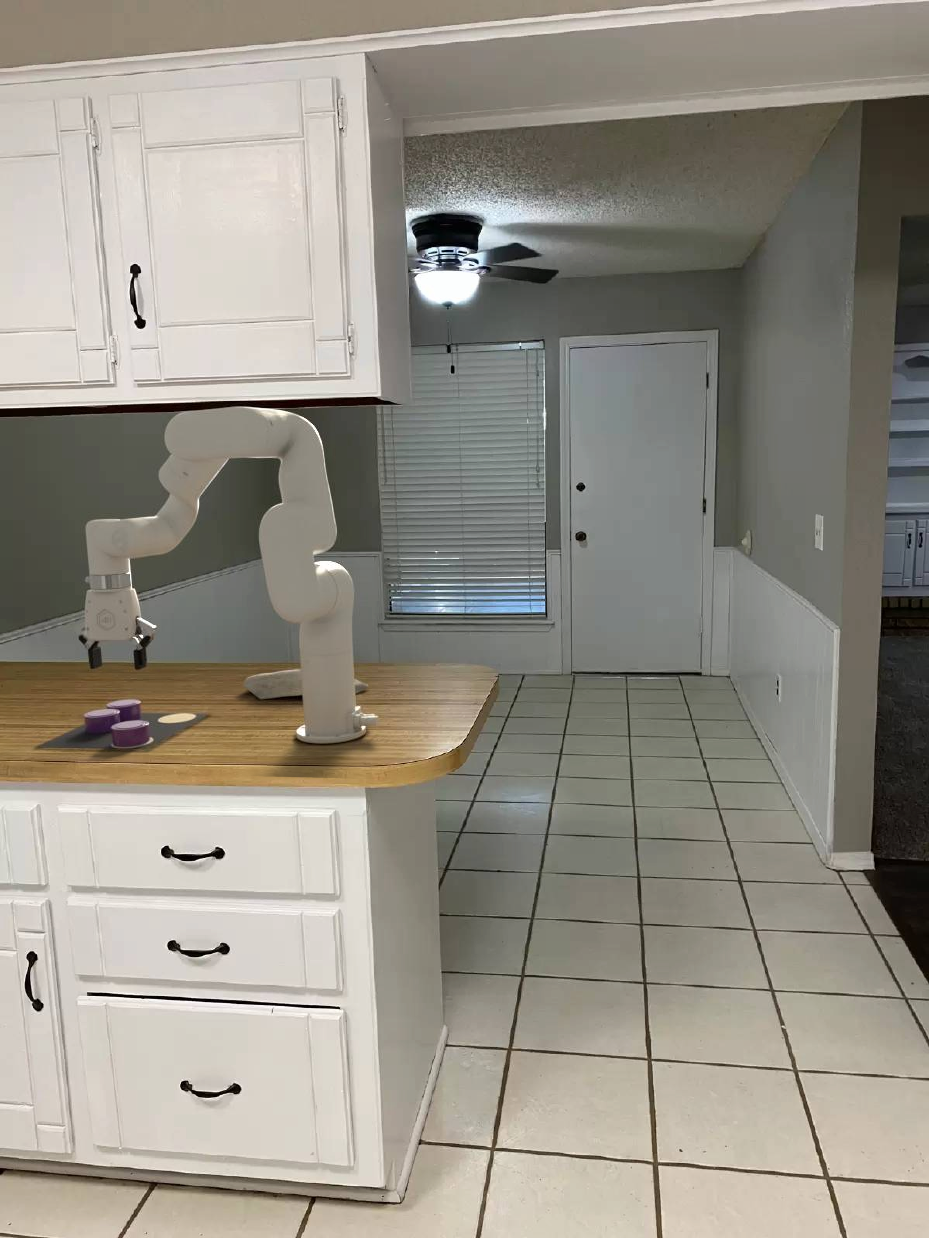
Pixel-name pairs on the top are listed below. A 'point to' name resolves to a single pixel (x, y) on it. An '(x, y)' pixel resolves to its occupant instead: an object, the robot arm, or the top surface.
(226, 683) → the top surface
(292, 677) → the stone
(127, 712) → the dish
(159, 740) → the mat
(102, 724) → the dish
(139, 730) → the purple short cylinder
